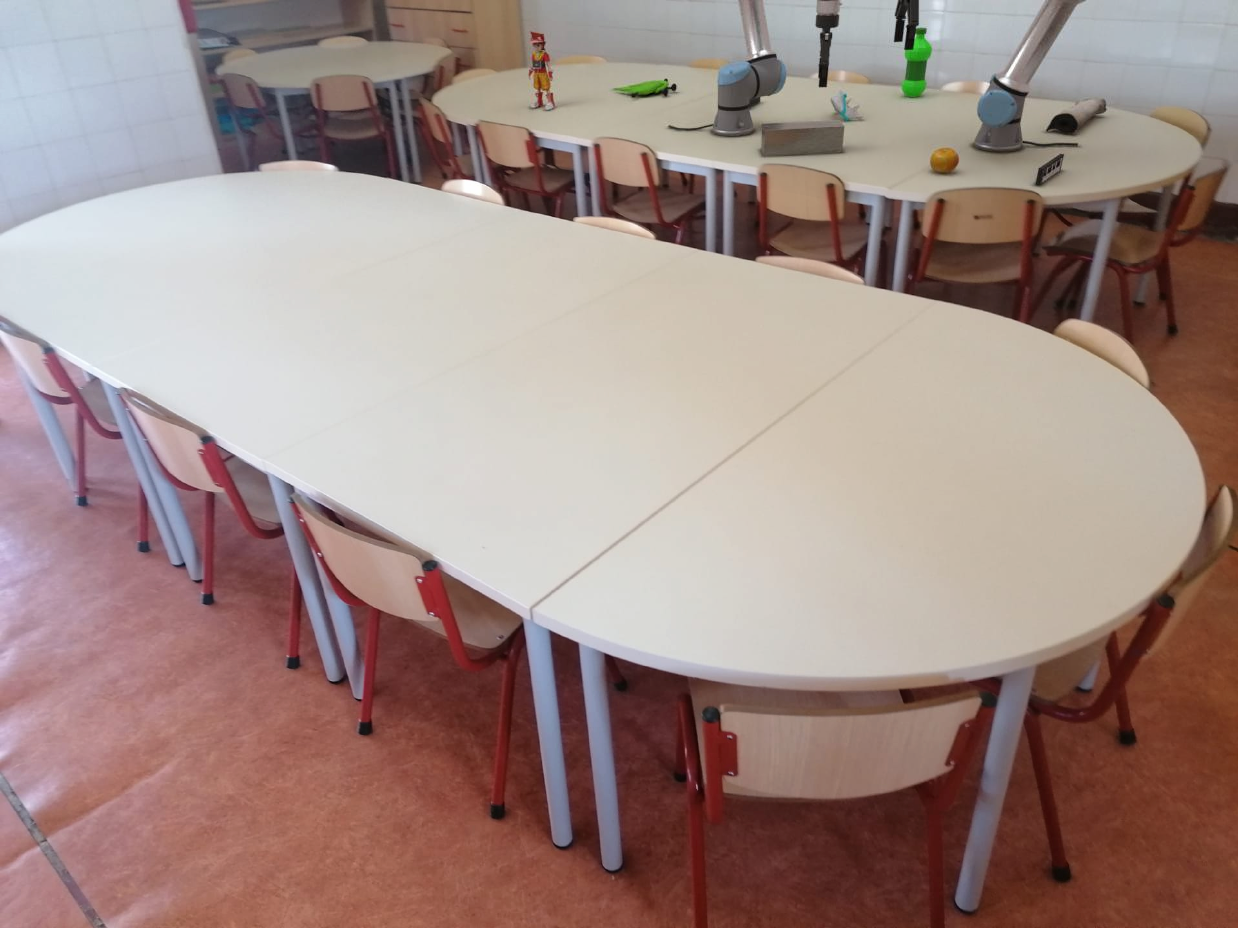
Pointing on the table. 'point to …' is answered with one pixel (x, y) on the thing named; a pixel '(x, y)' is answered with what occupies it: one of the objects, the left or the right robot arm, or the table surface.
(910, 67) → the plastic bottle
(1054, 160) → the midi keyboard
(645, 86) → the toy
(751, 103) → the disk drive
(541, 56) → the toy
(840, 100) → the anatomical model
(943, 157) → the fruit
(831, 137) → the box
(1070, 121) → the rolled mat
